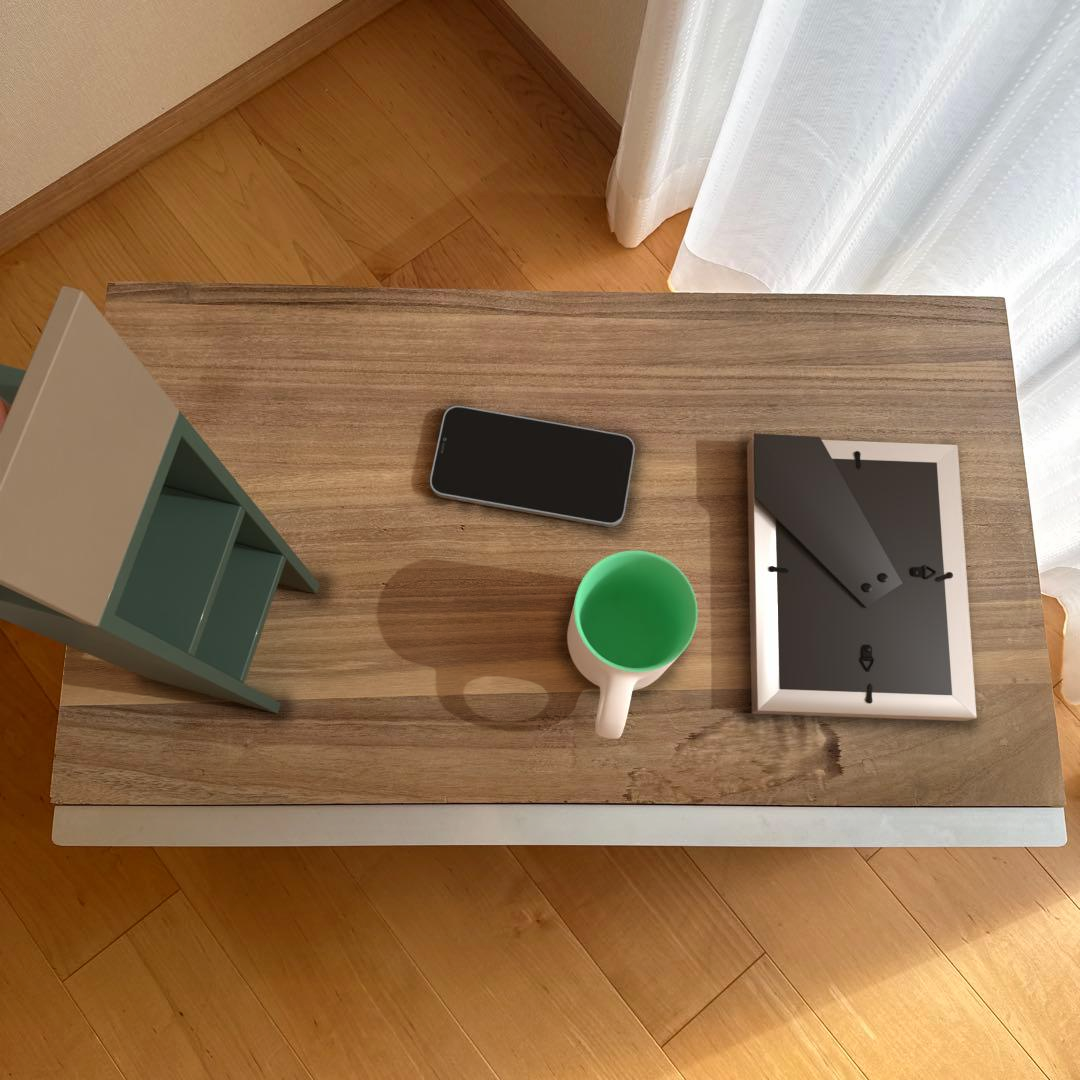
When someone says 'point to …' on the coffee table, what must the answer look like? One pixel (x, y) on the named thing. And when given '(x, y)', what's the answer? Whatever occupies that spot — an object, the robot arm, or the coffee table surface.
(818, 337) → the coffee table surface
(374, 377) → the coffee table surface
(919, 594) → the picture frame
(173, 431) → the shelf
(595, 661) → the mug
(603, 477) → the smartphone
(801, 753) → the coffee table surface
